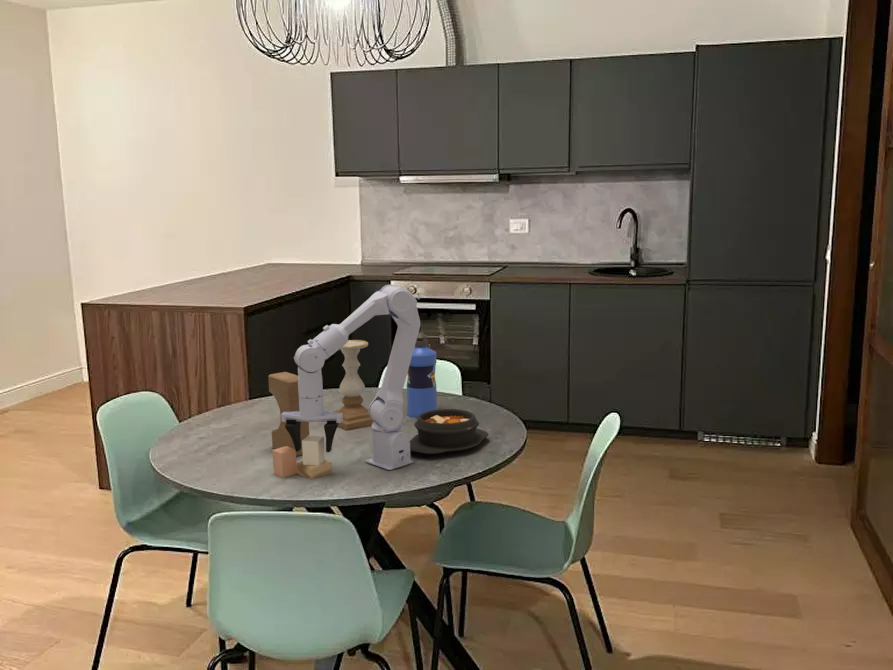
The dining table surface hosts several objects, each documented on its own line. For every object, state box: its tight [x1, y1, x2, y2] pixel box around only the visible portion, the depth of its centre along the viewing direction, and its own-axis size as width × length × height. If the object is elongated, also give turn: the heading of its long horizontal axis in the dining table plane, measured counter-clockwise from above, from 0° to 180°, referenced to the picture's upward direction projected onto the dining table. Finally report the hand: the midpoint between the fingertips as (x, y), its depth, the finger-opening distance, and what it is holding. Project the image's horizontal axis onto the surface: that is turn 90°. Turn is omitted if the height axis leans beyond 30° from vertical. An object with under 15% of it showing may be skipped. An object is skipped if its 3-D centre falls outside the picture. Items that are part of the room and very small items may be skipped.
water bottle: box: [406, 331, 438, 419], centre depth 243 cm, size 9×9×25 cm
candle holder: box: [332, 339, 373, 431], centre depth 235 cm, size 11×11×24 cm
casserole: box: [410, 408, 489, 455], centre depth 213 cm, size 25×19×8 cm
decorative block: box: [267, 371, 310, 457], centre depth 211 cm, size 11×6×20 cm, turn 38°
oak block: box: [296, 459, 333, 480], centre depth 195 cm, size 6×6×3 cm
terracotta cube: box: [271, 446, 297, 478], centre depth 195 cm, size 4×4×6 cm
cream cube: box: [302, 434, 326, 466], centre depth 194 cm, size 4×4×6 cm
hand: (313, 450), depth 194 cm, fingers open, 7 cm apart
